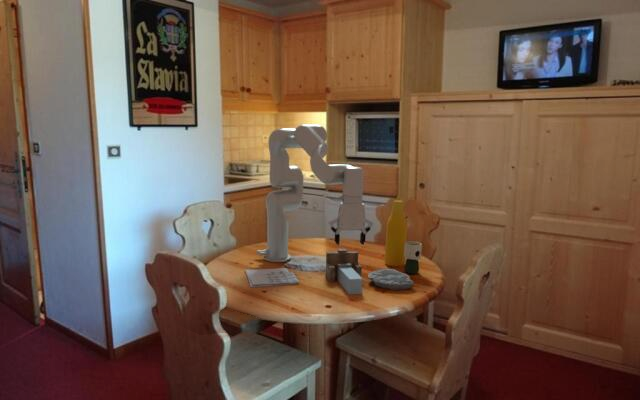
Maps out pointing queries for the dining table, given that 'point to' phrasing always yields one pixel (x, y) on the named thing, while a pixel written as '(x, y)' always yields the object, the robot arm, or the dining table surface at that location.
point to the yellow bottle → (396, 236)
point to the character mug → (412, 256)
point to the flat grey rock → (391, 279)
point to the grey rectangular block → (349, 279)
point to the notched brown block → (341, 262)
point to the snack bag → (270, 277)
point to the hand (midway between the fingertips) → (349, 243)
